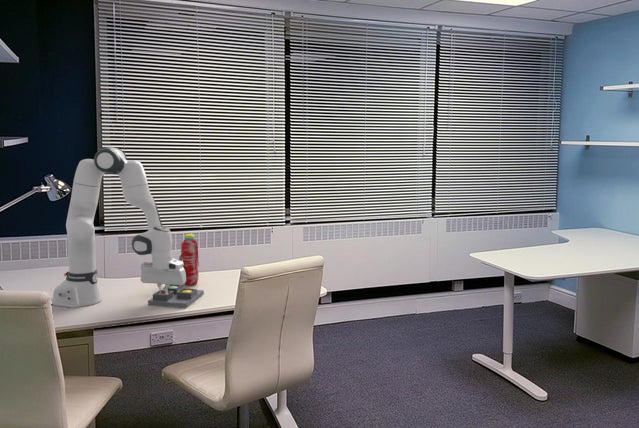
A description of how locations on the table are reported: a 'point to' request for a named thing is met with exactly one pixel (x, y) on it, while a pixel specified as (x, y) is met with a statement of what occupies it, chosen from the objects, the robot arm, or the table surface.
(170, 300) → the button panel
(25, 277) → the table surface
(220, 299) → the table surface
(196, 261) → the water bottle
